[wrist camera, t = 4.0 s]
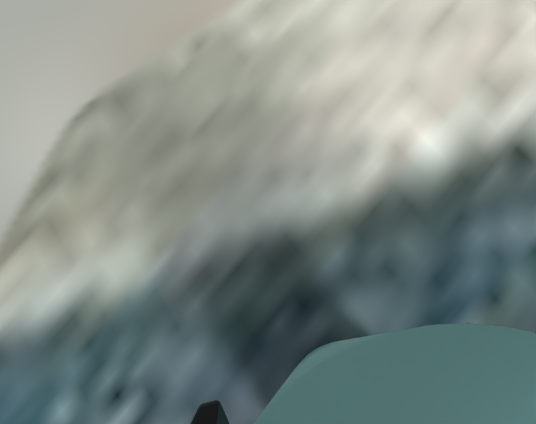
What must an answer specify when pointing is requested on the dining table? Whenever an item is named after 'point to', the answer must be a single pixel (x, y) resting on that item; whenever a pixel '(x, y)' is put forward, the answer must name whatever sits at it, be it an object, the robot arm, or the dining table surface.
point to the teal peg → (414, 379)
